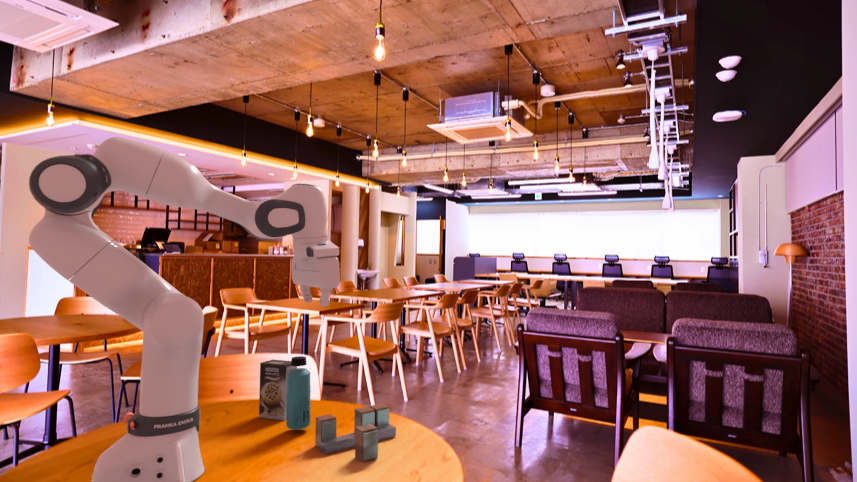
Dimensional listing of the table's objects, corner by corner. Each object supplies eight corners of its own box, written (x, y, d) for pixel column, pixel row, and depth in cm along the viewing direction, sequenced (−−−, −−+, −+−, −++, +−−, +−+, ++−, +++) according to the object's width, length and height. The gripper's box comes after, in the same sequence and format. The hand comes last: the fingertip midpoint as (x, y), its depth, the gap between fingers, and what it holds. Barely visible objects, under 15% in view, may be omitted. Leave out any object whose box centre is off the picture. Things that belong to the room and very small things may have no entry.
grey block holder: (325, 454, 113) (325, 424, 114) (313, 445, 119) (313, 417, 119) (395, 436, 125) (395, 409, 126) (381, 429, 131) (382, 403, 131)
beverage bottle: (303, 436, 125) (305, 359, 126) (280, 434, 127) (282, 358, 128) (314, 427, 132) (315, 355, 133) (292, 426, 133) (293, 354, 134)
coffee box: (257, 418, 140) (258, 362, 141) (271, 411, 146) (272, 358, 147) (284, 421, 138) (285, 364, 138) (296, 414, 144) (297, 360, 145)
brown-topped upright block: (363, 463, 109) (363, 431, 109) (355, 457, 112) (355, 427, 112) (378, 458, 111) (378, 428, 111) (369, 453, 114) (370, 423, 115)
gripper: (283, 249, 125) (287, 301, 125) (318, 250, 109) (322, 310, 109) (305, 247, 129) (310, 298, 129) (342, 248, 113) (347, 305, 113)
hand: (316, 303), depth 119 cm, fingers open, 8 cm apart
